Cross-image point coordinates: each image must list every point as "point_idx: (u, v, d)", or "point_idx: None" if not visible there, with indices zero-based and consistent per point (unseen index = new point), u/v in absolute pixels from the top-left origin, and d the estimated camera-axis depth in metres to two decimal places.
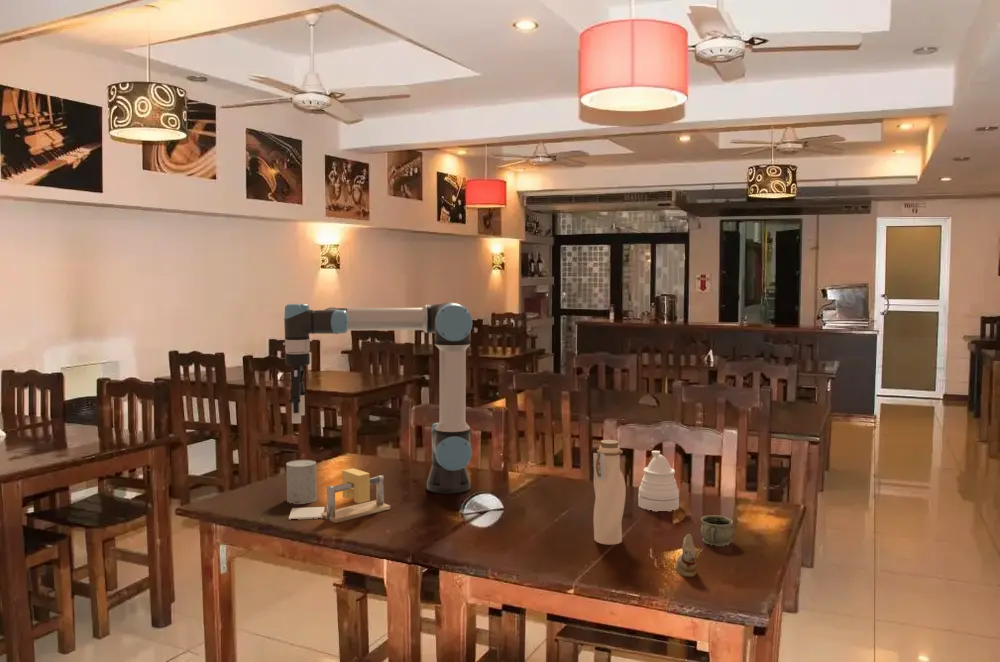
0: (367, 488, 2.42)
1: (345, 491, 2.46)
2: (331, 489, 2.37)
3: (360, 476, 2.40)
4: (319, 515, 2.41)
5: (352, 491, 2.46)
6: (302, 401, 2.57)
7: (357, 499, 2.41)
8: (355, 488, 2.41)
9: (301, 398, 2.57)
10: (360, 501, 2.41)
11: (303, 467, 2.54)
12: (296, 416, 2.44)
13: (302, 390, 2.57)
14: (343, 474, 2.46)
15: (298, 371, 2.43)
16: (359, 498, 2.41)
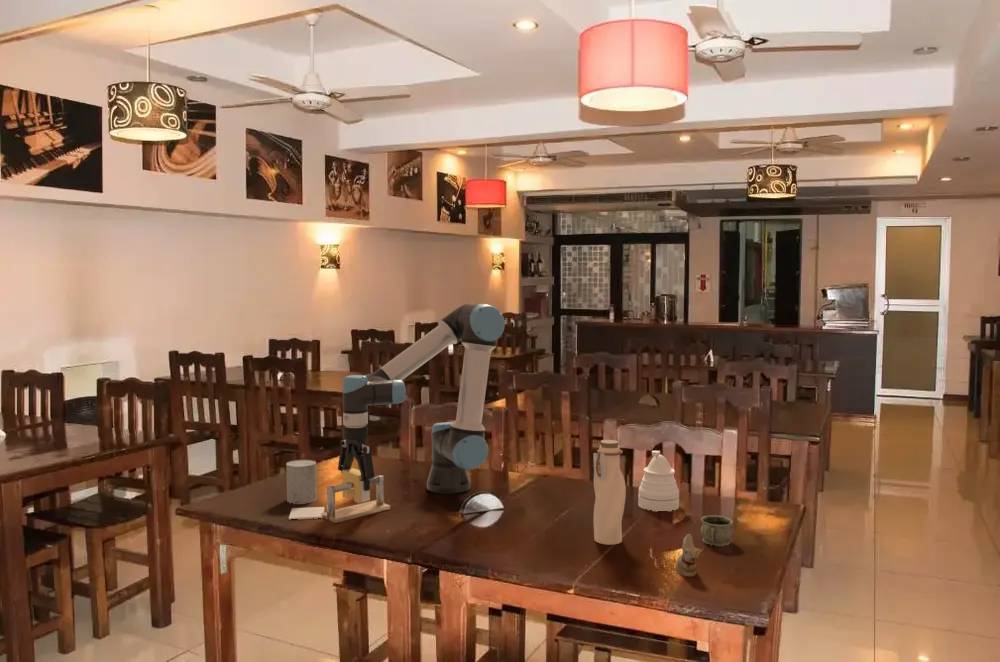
0: None
1: (345, 491, 2.46)
2: (331, 489, 2.37)
3: (360, 476, 2.40)
4: (319, 515, 2.41)
5: (352, 491, 2.46)
6: None
7: (357, 499, 2.41)
8: (355, 488, 2.41)
9: None
10: (360, 501, 2.41)
11: (303, 467, 2.54)
12: (365, 493, 2.41)
13: (350, 466, 2.48)
14: (343, 474, 2.46)
15: (370, 447, 2.40)
16: (359, 498, 2.41)
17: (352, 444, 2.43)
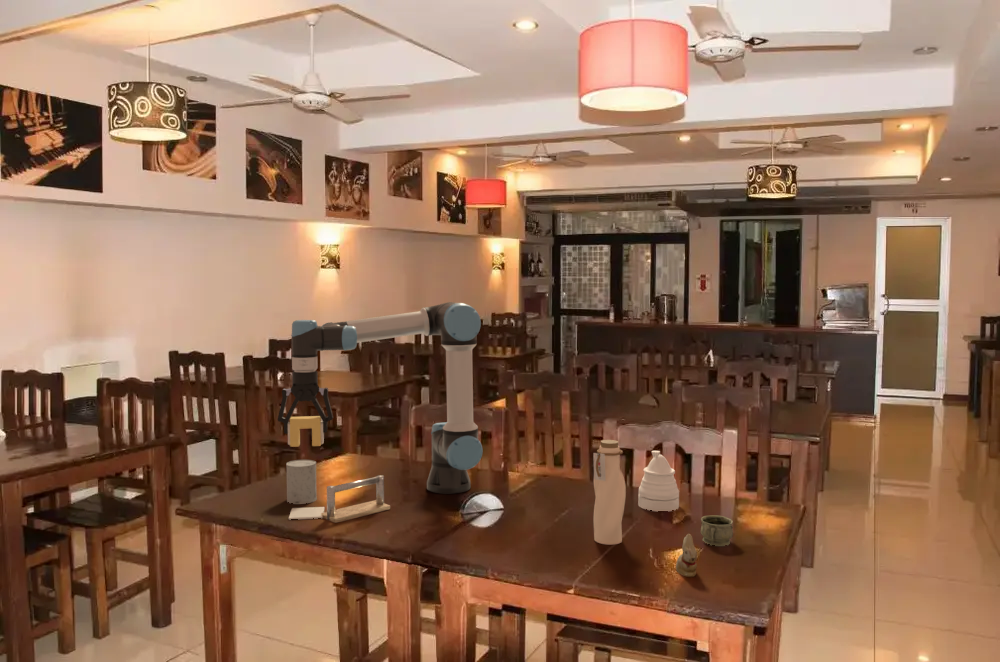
0: None
1: (295, 439, 2.40)
2: (331, 489, 2.37)
3: (320, 419, 2.41)
4: (319, 515, 2.41)
5: (299, 438, 2.42)
6: None
7: (318, 442, 2.41)
8: (314, 432, 2.41)
9: None
10: (320, 443, 2.42)
11: (303, 467, 2.54)
12: (323, 435, 2.43)
13: None
14: (292, 423, 2.39)
15: (327, 389, 2.43)
16: (320, 440, 2.41)
17: (304, 389, 2.40)
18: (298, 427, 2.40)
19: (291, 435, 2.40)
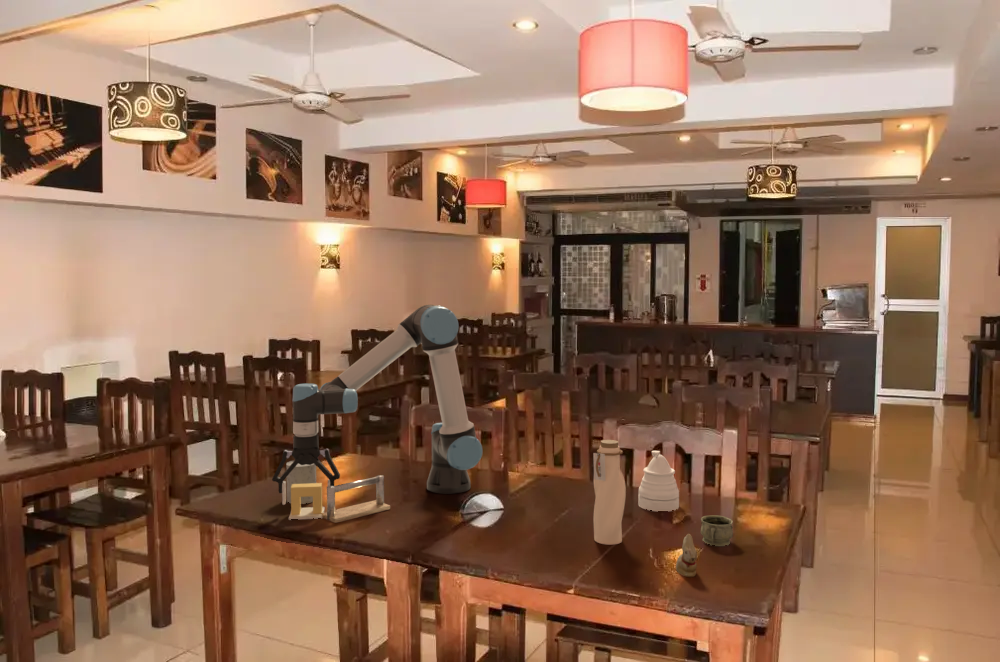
0: None
1: (296, 507, 2.42)
2: (331, 489, 2.37)
3: (321, 486, 2.43)
4: (319, 515, 2.41)
5: (300, 506, 2.44)
6: (285, 487, 2.43)
7: (318, 510, 2.43)
8: (315, 500, 2.42)
9: (285, 484, 2.43)
10: (321, 511, 2.43)
11: (303, 467, 2.54)
12: None
13: None
14: (293, 491, 2.41)
15: (328, 449, 2.45)
16: (321, 508, 2.43)
17: (305, 453, 2.42)
18: (299, 495, 2.41)
19: (292, 503, 2.41)
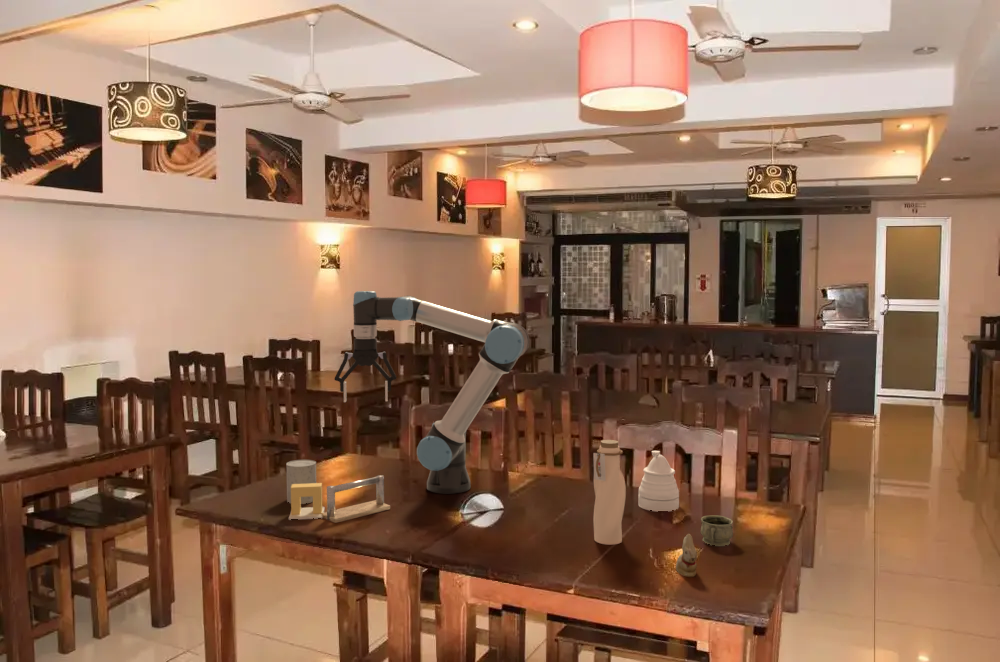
0: None
1: (296, 507, 2.42)
2: (331, 489, 2.37)
3: (321, 486, 2.43)
4: (319, 515, 2.41)
5: (300, 506, 2.44)
6: None
7: (318, 510, 2.43)
8: (315, 500, 2.42)
9: None
10: (321, 511, 2.43)
11: (303, 467, 2.54)
12: None
13: None
14: (293, 491, 2.41)
15: None
16: (321, 508, 2.43)
17: (365, 355, 2.61)
18: (299, 495, 2.41)
19: (292, 503, 2.41)
